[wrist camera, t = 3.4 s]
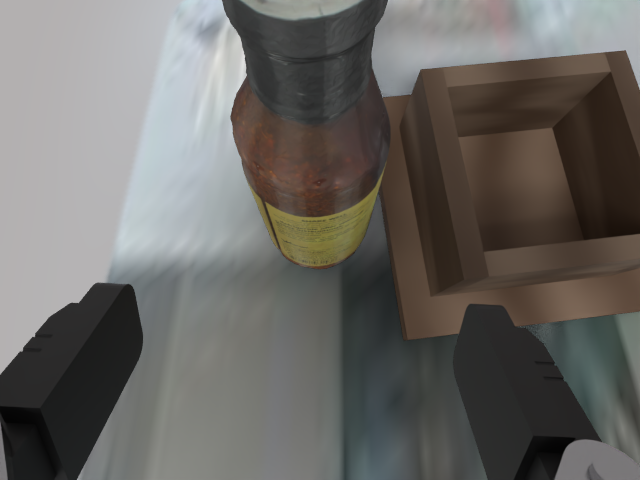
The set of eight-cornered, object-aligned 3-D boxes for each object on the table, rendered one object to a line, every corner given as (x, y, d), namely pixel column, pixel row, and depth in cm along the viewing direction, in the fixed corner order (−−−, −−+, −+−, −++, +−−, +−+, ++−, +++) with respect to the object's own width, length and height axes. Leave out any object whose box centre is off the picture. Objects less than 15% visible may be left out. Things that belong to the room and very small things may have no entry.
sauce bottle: (384, 227, 29) (529, -36, 10) (314, 293, 28) (321, 142, 8) (315, 160, 30) (321, -196, 11) (245, 220, 29) (111, -59, 10)
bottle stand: (571, 88, 32) (644, 12, 25) (639, 311, 28) (749, 295, 21) (365, 108, 31) (380, 36, 24) (403, 340, 27) (435, 334, 20)
